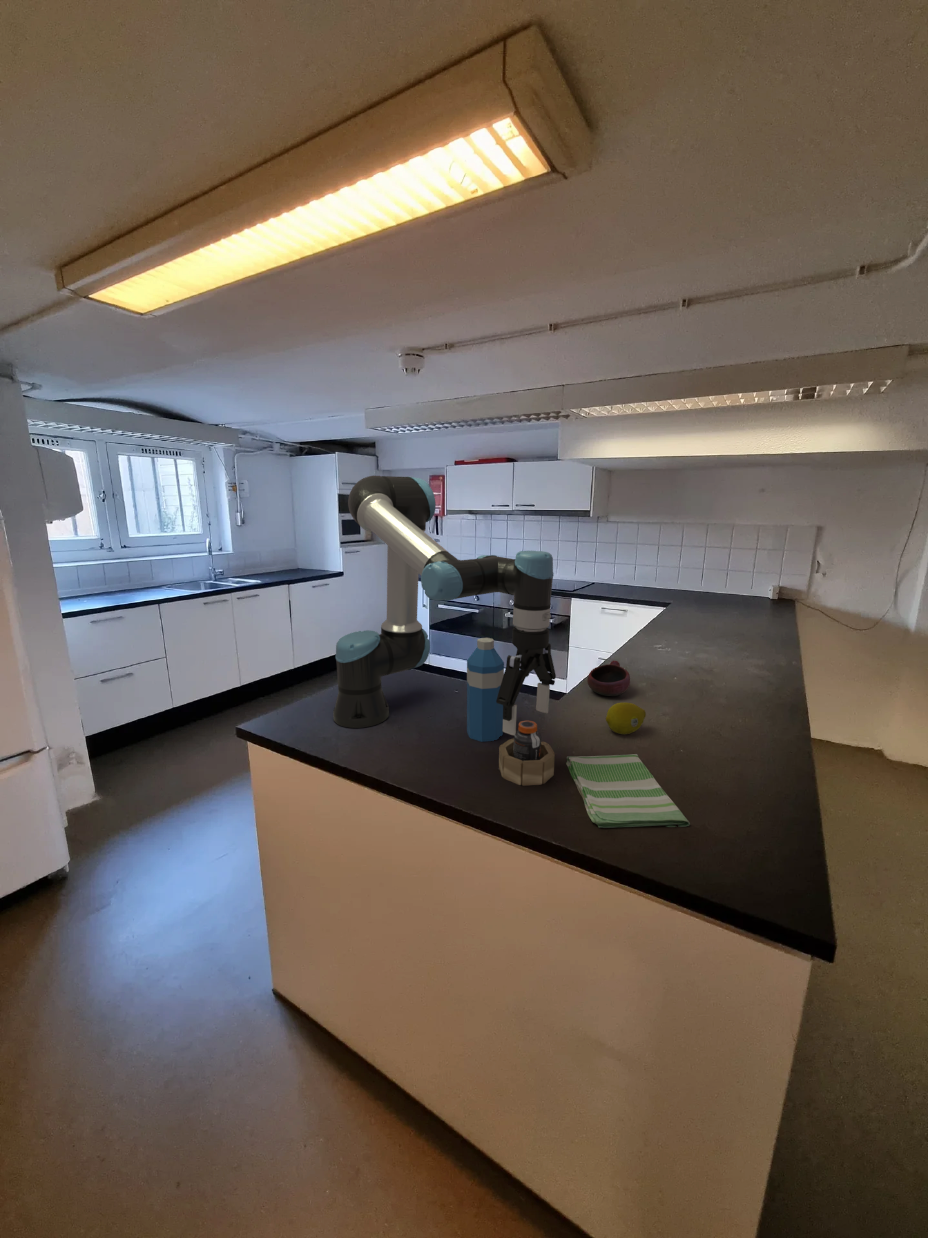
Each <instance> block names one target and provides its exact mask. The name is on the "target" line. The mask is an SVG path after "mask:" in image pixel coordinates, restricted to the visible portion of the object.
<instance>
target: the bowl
mask: <svg viewBox="0 0 928 1238" xmlns="http://www.w3.org/2000/svg"><path fill="white" fill-rule="evenodd" d="M630 675H631V674H630V673H629V672H628V671H627V669H625V668H624V667H622V666H621V664H620V662H619V661H618V660H612V661H611V662H610V663H608V664H604V665H600V666H597V667H594V668H592V669H591V670H590V672H589V673H588V676H587V679H586V680H587V685H588V687H589V688H590V690H591V691H593V692H595V693H596V694H599V695H601V696H604V697H606V696H607V697H617V696H619V695H622V694H623V693H625V692H626V691H627V690H628V689H629V687H630V684H631V678H630V677H631V676H630Z"/></svg>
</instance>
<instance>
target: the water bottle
mask: <svg viewBox="0 0 928 1238" xmlns="http://www.w3.org/2000/svg"><path fill="white" fill-rule="evenodd" d="M476 642H477V643H476V644H477V645H476V648H474V649H475V650H473V652H472V653H471V655H470V656H469V657H468V658H467V659H466V733H467V736H468V737H469V739H471V740H475V741H478V742H481V743H482V742H491V741H492V742H495V741H494V740H496V741H497V740H498V739H500V738H501V737H502V736H503V735H504V734H503V733H504V732H503V705H501V704H498V703H496V700H497V696H498V693H499V689H500V686H501V683H502V679H503V676H504V672H505V662H504V660H503V659H502V657H501V656H500V654H499V653H498V652H497V651H496V649H495V640H494V639H493V638H492V637H491V638H490V637H481V638H477V641H476ZM500 736H501V737H500ZM499 737H500V738H499Z"/></svg>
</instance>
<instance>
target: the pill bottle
mask: <svg viewBox="0 0 928 1238" xmlns="http://www.w3.org/2000/svg"><path fill="white" fill-rule="evenodd" d="M513 739H514V751H513V757H514V758H517V759H519V760H522V761H529V760H540V758H541V741H542V736H541V733H540V732H539V731H538V724H537V723H536V722H535V721H533V720H523V721H519V723H518V728H517V730H516V734H515V735H514V736H513Z"/></svg>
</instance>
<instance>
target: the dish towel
mask: <svg viewBox="0 0 928 1238" xmlns="http://www.w3.org/2000/svg"><path fill="white" fill-rule="evenodd" d="M565 764H566V766H567V770H569V773H570V777H571V778H572V779H573V782H574V783H575V786H576V787H577V790H578V792H579V795H580V796H581V797H582V800H583V802H584V807H585V809H586V813H587V815H588V817H589V819H590V820H591V822H592V823H594V824H596V825H597V827H598V828H599V829H600V828H604V829H605V828H606V829H607V828H608V829H610V828H632V827H633V828H634V827H652V826H656V827H657V826H665V827H666V828H675V827H677V826H676V825H678V827H683V828H685V827H689V826H690V825H691V823H690V821H689V820H688V819H687V817H685V816H686V815H684V814H683V812H682V811H681V810H680V808H679V807H678V806H677V805H676V804H675V802H674V801H673V800H672V799H671V798H670V797H669V795H668V794H667V793H666V792H665V790H664V789H663V788H662V786H661V785H660V784H659V782H658V781H657V780H656V778H655V777H654V775H653V774H652V773H651V772H650V770H649V769H648V768H647V766H646V765H645V764H644V762H643V761H642V760H641V759H640V758H639V755H638V754H637V753H635V754H620V755H619V754H614V755H595V756H594V755H592V756H591V755H590V756H588V755H587V756H584V755H583V756H582V755H581V756H566V762H565Z"/></svg>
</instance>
